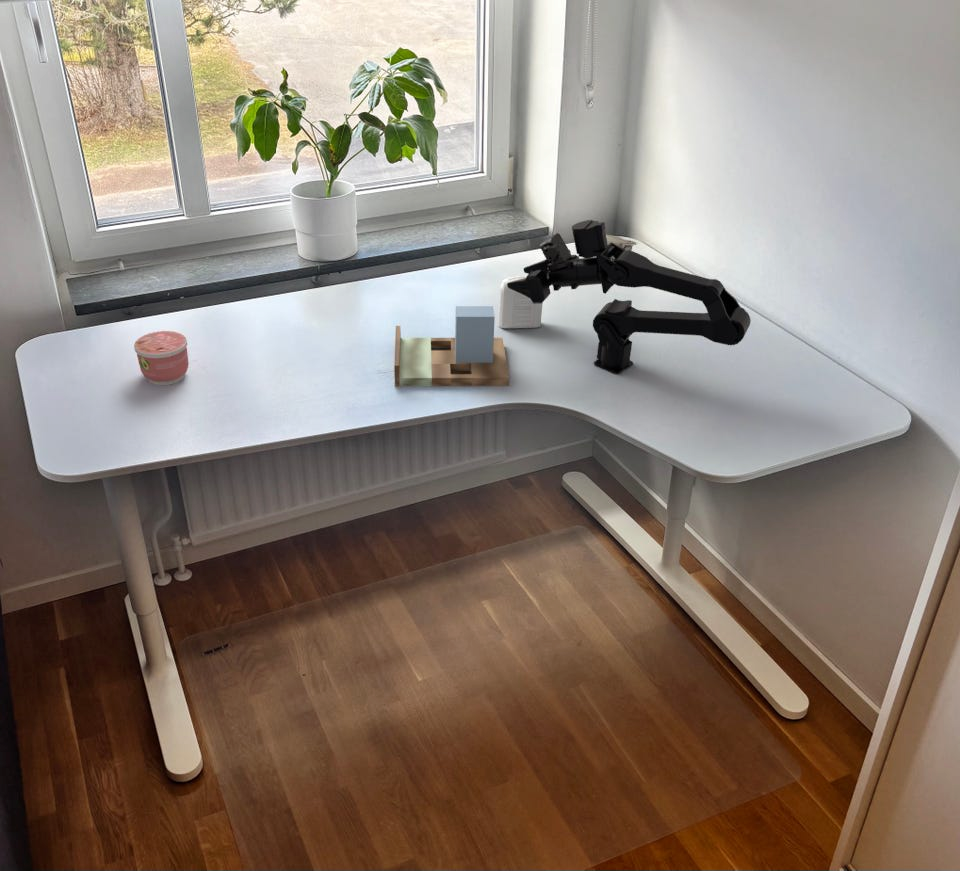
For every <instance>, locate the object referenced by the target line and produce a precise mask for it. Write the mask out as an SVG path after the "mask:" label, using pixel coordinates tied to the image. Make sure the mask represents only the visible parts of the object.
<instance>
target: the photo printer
mask: <svg viewBox="0 0 960 871" xmlns="http://www.w3.org/2000/svg"><path fill="white" fill-rule="evenodd" d="M526 277H527V275H520V276H512V277H511V276H510V277H507V278H505V279H502V280H501V284H500V287H499V300H498V301H499V302H498V303H499V305H498V320H497V325H498V327H499V328H500V329H532V328H533V329H534V328H535V329H536V328H539V327H541V325H542V314H543V303H544V302H543V303H539V304H534V303H532V301H531V299H530V298H528V297H527V296H525V295H523V294H521V293H518V292H516V291H514V290H512V289H509V288H508V286H507V283H509V282H512V281H516V280H520V279H524V278H526Z"/></svg>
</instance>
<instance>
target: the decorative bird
mask: <svg viewBox="0 0 960 871" xmlns="http://www.w3.org/2000/svg"><path fill="white" fill-rule="evenodd" d="M606 238H607V244H609V243H610V242H612V243H614V244H616V245H617V246H619V247H621V248H622V249H624V250H629V251H633V246H635V245H637V244H638V243H637V242H636V241H633V240H630V239H624V238H623V237H620V236H617V235H611V234H606ZM610 259H611V260H614V259H615V258H614V256H612V257H611V258H610Z"/></svg>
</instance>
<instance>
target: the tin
mask: <svg viewBox="0 0 960 871" xmlns="http://www.w3.org/2000/svg"><path fill="white" fill-rule="evenodd" d="M494 310H495V309H494V305H493V306H492V305H491V306H490V305H488V306H487V305H486V306H485V305H477V306H476V305H475V306H474V305H471V306H469V305H464V306H463V305H455V324H454V325H455V326H454V327H455V328H454V330H455V332H454V333H455V334H454V335H455V336H454V338H455V359H456V363H493V344H494V338H495V318H496V317H495V311H494Z"/></svg>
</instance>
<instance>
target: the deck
mask: <svg viewBox="0 0 960 871" xmlns="http://www.w3.org/2000/svg"><path fill="white" fill-rule="evenodd" d="M401 333H402V332H401V325H396V326H395V339H394V341H395V342H394V361H393V362H394V364H393V366H394V368H393V369H394V387H509V382H510V377H509V371H508V363H507V358H506V357H507V356H506V350H505V344H504V339H503V337H494V344H493V363H456V359H455V337H401Z"/></svg>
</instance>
